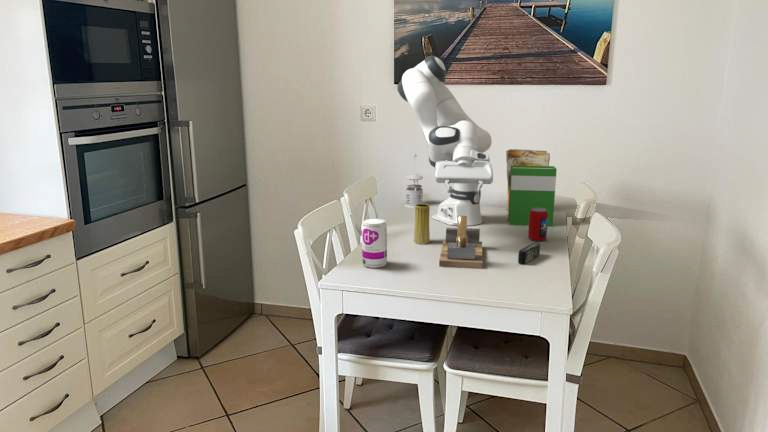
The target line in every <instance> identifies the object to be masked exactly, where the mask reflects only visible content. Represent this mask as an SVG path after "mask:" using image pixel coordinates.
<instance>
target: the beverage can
mask: <svg viewBox="0 0 768 432" xmlns="http://www.w3.org/2000/svg"><path fill="white" fill-rule="evenodd" d="M547 222H548V213H547V211H546V209H545V208H532V210H531V211H530V214H529V226H528V235H527V237H528V239H529V240H530V241H533V242H544V241H545V240H546V239H547V233H548V226H547Z"/></svg>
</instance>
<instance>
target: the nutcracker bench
mask: <svg viewBox="0 0 768 432" xmlns="http://www.w3.org/2000/svg"><path fill="white" fill-rule="evenodd" d="M457 228H458V227H446V228H445V239H443V242H442V246H441V251H440V254H439V255H440V256H439V261H438V262H439V263H438V266H439V267H443V268H445V267H446V268H466V269H467V268H468V269H483V241H480V236H481V235H480V234H481V231H480V230H481V229H480V228H471V227H470V228H469V227H467V232H466V243H475V259H453V258H447V250H448V242H451V243H457Z"/></svg>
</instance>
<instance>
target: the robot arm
mask: <svg viewBox="0 0 768 432" xmlns="http://www.w3.org/2000/svg"><path fill="white" fill-rule="evenodd" d="M446 76H447V69H446V66H445V64H444V62H443V60H441V59H440V58H439V57H437V56H436V55H430V56H429V55H428V57H426V58H424V60H423V61H421V62H420V63H418V64H416V66H414V67H412V68H409V69H407V70H406V71H405V72H403V74H402V77H401V80H400V81H399V83H398V84H397V87H396V88H397V92H398V94H399V96H400V97H401V99H402V100H404V101H405V102H407V103H408V104H409V106H410V108H411V110H412V112H413V114H414V116H415V119H416V120H417V122H418V124H419V126H420V128H421V131H422V133H423V136H424V139H425V141H426V142H425V143H426V144H427V147H428V153H429V154H428V162H429V164H430V166H431V167H434V168H435V174H434V175H435V177H434V179H435V182H436V183H437V184H444V186H445V188H446V189H447V193H448V194H449V197H447V198H446V199H445V200H443V201H442V202H440V203H439V205H438V206H437V213H435V214H433V215H432V216H431V218H432V219H433V220H436V221H438V222H441V223H444V224H447V225H449V226H458V216H460V215H464V216H467V226H476V225H481V224H482V223H483V219H482V218H483V217H482V212H481V195H482V193H481V191H482V190H481V188H483V185H491V184H492V183H493V182H494V171H493V164H492V163H491V162H490V161H491V160H490V155H489V154H486V153H485V152H487V151H488V150H489V149H490V148H491V147H492V136H491V134H490V133H489V132H488V131H487V130H485V129H484V128H482V127H480V126H479V125H478V124H477V123H476V122H475V121H474V120H473V119H472V118H471V117H469V116H468V114H467V113H466V111H465V110H464V109H463V108H462V106H461V105H460V103H459V101H458V100H457V98H456V97H455V95H454V94H453V93H452V91H451V90H450V89H449V87H447V85H445V83H446ZM438 123H439V124H440V125H438ZM450 184H453V186H452V185H450Z"/></svg>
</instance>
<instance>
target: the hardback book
mask: <svg viewBox="0 0 768 432" xmlns="http://www.w3.org/2000/svg"><path fill="white" fill-rule="evenodd" d="M556 182H557V168H556V167H555V165H549V166H516V165H511V171H510V191H509V210H507V211H508V212H507V214H508V215H507V222H508V225H509V226H519V227H520V226H521V227H522V226H526V227H529V214H530V211H531V210H532V208H545V209H546V211H547V213H548V222H547V227H553V223H554V213H555V211H554V210H555V198H556V197H555V196H556V184H557V183H556Z"/></svg>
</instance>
